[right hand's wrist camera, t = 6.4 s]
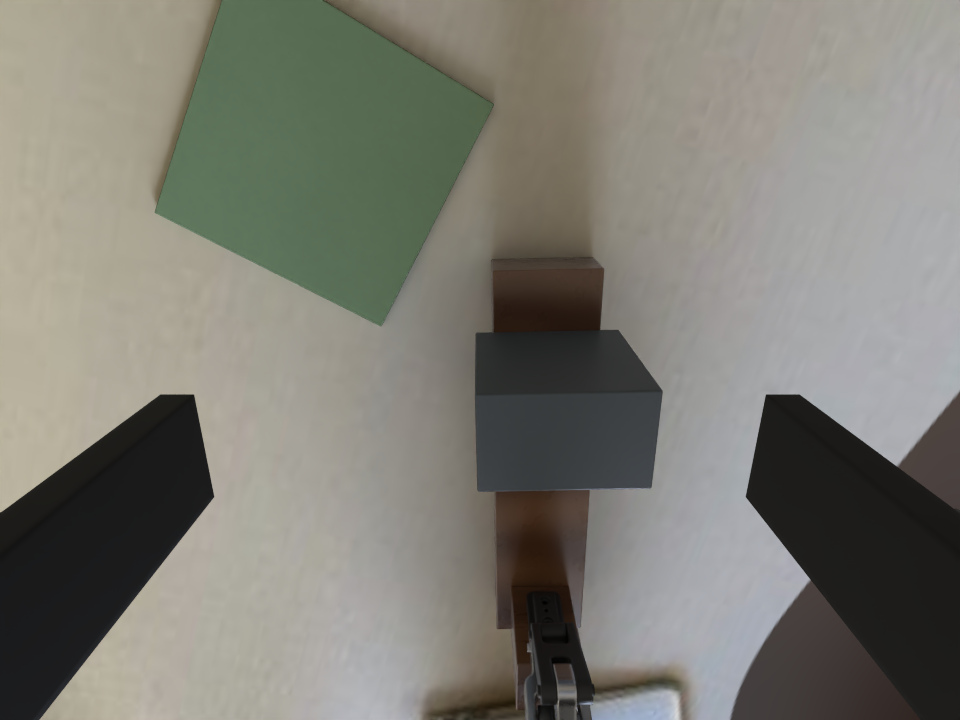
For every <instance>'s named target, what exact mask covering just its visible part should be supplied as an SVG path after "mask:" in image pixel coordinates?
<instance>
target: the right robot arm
mask: <svg viewBox="0 0 960 720" xmlns="http://www.w3.org/2000/svg"><path fill="white" fill-rule="evenodd" d="M213 498H214V493H213V488H212V483H211V478H210V473H209V468H208V463H207V458H206V453H205V448H204V443H203V438H202V433H201V428H200V423H199V418H198V413H197V408H196V403H195V397H194V395H159V396H158V397H157V398H155V399H154V400H153V401H151V402H150V403H149V404H147V405H146V406H144V407H143V408H142V409H140V410H139V411H138V412H136V413H135V414H134V415H132V416H131V417H130V418H128V419H127V420H126V421H124V422H123V423H122V424H120V425H119V426H117V427H116V428H115V429H113V430H112V431H111V432H109V433H108V434H107V435H105V436H104V437H103V438H101V439H100V440H99V441H97V442H96V443H94V444H93V445H92V446H90V447H89V448H88V449H86V450H85V451H84V452H82V453H81V454H80V455H78V456H77V457H76V458H74V459H73V460H71V461H70V462H69V463H67V464H66V465H65V466H63V467H62V468H61V469H59V470H58V471H57V472H55V473H54V474H53V475H51V476H50V477H49V478H47V479H46V480H44V481H43V482H42V483H40V484H39V485H38V486H36V487H35V488H34V489H32V490H31V491H30V492H28V493H27V494H26V495H24V496H23V497H21V498H20V499H19V500H17V501H16V502H15V503H13V504H12V505H11V506H9V507H8V508H7V509H5V510H4V511H2V512H0V720H39V719H40V718H41V717H42V716H43V714H44V713H45V712H46V711H47V709H48V708H49V707H50V705H51V704H52V703H53V702H54V700H55V699H56V698H57V697H58V695H59V694H60V693H61V691H62V690H63V689H64V688H65V686H66V685H67V684H68V683H69V681H70V680H71V679H72V677H73V676H74V675H75V674H76V672H77V671H78V670H79V668H80V667H81V666H82V665H83V663H84V662H85V661H86V660H87V658H88V657H89V656H90V654H91V653H92V652H93V651H94V649H95V648H96V647H97V646H98V644H99V643H100V642H101V640H102V639H103V638H104V637H105V635H106V634H107V633H108V632H109V630H110V629H111V628H112V626H113V625H114V624H115V623H116V621H117V620H118V619H119V618H120V616H121V615H122V614H123V612H124V611H125V610H126V609H127V607H128V606H129V605H130V604H131V602H132V601H133V600H134V598H135V597H136V596H137V595H138V593H139V592H140V591H141V590H142V588H143V587H144V586H145V584H146V583H147V582H148V581H149V579H150V578H151V577H152V576H153V574H154V573H155V572H156V570H157V569H158V568H159V567H160V565H161V564H162V563H163V561H164V560H165V559H166V558H167V556H168V555H169V554H170V553H171V551H172V550H173V549H174V547H175V546H176V545H177V544H178V542H179V541H180V540H181V539H182V537H183V536H184V535H185V533H186V532H187V531H188V530H189V528H190V527H191V526H192V525H193V523H194V522H195V521H196V519H197V518H198V517H199V516H200V514H201V513H202V512H203V511H204V509H205V508H206V507H207V505H208V504H209V503H210V502H211V500H212V499H213ZM746 498H747V499H748V500H749V502H750V503H751V504H752V505H753V507H754V508H755V509H756V511H757V512H758V513H759V514H760V516H761V517H762V518H763V519H764V521H765V522H766V523H767V525H768V526H769V527H770V528H771V530H772V531H773V532H774V533H775V535H776V536H777V537H778V539H779V540H780V541H781V542H782V544H783V545H784V546H785V547H786V549H787V550H788V551H789V553H790V554H791V555H792V556H793V558H794V559H795V560H796V561H797V563H798V564H799V565H800V567H801V568H802V569H803V570H804V572H805V573H806V574H807V576H808V577H809V578H810V579H811V581H812V582H813V583H814V584H815V586H816V587H817V588H818V590H819V591H820V592H821V593H822V595H823V596H824V597H825V598H826V600H827V601H828V602H829V603H830V605H831V606H832V607H833V609H834V610H835V611H836V612H837V614H838V615H839V616H840V617H841V619H842V620H843V621H844V623H845V624H846V625H847V626H848V628H849V629H850V630H851V632H852V633H853V634H854V635H855V637H856V638H857V639H858V640H859V642H860V643H861V644H862V646H863V647H864V648H865V649H866V651H867V652H868V653H869V654H870V656H871V657H872V658H873V660H874V661H875V662H876V663H877V665H878V666H879V667H880V668H881V670H882V671H883V672H884V674H885V675H886V676H887V677H888V679H889V680H890V681H891V683H892V684H893V685H894V686H895V688H896V689H897V690H898V691H899V693H900V694H901V695H902V697H903V698H904V699H905V700H906V702H907V703H908V704H909V705H910V707H911V708H912V709H913V711H914V712H915V713H916V714H917V716H918V717H919V718H920V719H921V720H960V510H958V509H953V508H952V507H951V506H949V505H948V504H947V503H945V502H944V501H943V500H941V499H940V498H938V497H937V496H936V495H934V494H933V493H932V492H930V491H929V490H928V489H926V488H925V487H924V486H922V485H921V484H920V483H918V482H917V481H915V480H914V479H913V478H911V477H910V476H909V475H907V474H906V473H905V472H903V471H902V470H901V469H899V468H898V467H897V466H895V465H894V464H893V463H891V462H890V461H889V460H887V459H886V458H884V457H883V456H882V455H880V454H879V453H878V452H876V451H875V450H874V449H872V448H871V447H870V446H868V445H867V444H866V443H864V442H863V441H861V440H860V439H859V438H857V437H856V436H855V435H853V434H852V433H851V432H849V431H848V430H847V429H845V428H844V427H843V426H841V425H840V424H838V423H837V422H836V421H834V420H833V419H832V418H830V417H829V416H828V415H826V414H825V413H824V412H822V411H821V410H820V409H818V408H817V407H816V406H814V405H813V404H811V403H810V402H809V401H807V400H806V399H805V398H803V397H802V396H801V395H766V397H765V403H764V408H763V413H762V418H761V423H760V428H759V433H758V438H757V443H756V448H755V453H754V458H753V463H752V468H751V473H750V478H749V483H748V488H747V493H746Z"/></svg>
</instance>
